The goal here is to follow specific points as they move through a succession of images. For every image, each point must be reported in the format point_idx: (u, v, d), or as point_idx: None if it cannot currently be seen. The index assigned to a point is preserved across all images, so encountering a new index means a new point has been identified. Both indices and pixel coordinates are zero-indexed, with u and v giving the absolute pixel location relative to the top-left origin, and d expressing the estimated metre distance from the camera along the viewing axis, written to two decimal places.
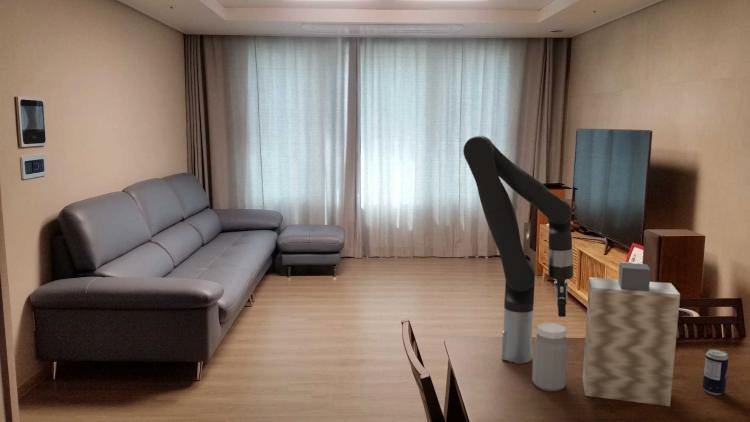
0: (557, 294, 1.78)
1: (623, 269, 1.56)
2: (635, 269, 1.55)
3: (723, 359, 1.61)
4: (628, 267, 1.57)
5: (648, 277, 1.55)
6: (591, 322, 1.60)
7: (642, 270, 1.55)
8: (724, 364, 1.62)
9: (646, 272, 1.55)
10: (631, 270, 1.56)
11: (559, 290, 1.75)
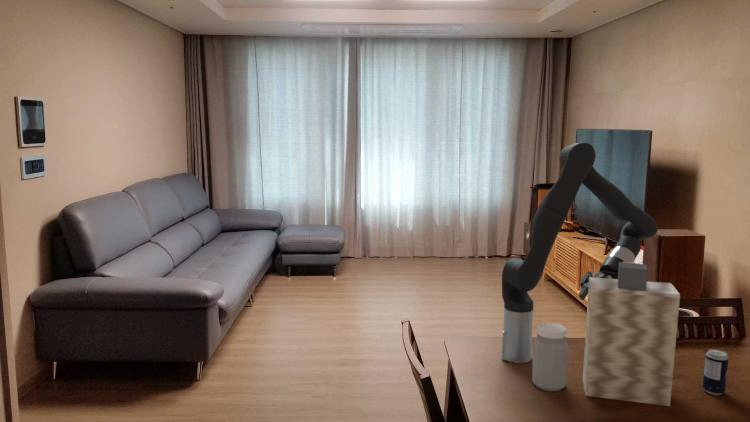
0: None
1: (620, 268, 1.57)
2: (632, 269, 1.56)
3: (723, 359, 1.61)
4: (625, 267, 1.57)
5: (645, 277, 1.55)
6: (591, 322, 1.60)
7: (639, 270, 1.55)
8: (724, 364, 1.62)
9: (643, 272, 1.55)
10: (628, 270, 1.56)
11: None
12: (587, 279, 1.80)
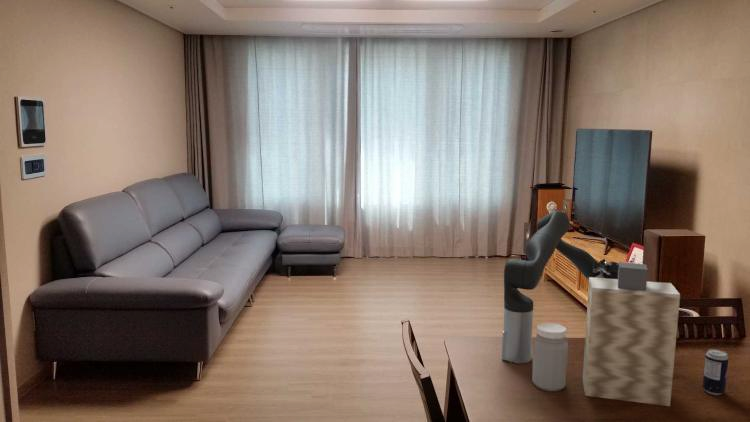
0: None
1: (620, 268, 1.57)
2: (632, 269, 1.56)
3: (723, 359, 1.61)
4: (625, 267, 1.57)
5: (645, 277, 1.55)
6: (591, 322, 1.60)
7: (639, 270, 1.55)
8: (724, 364, 1.62)
9: (643, 272, 1.55)
10: (628, 270, 1.56)
11: None
12: None
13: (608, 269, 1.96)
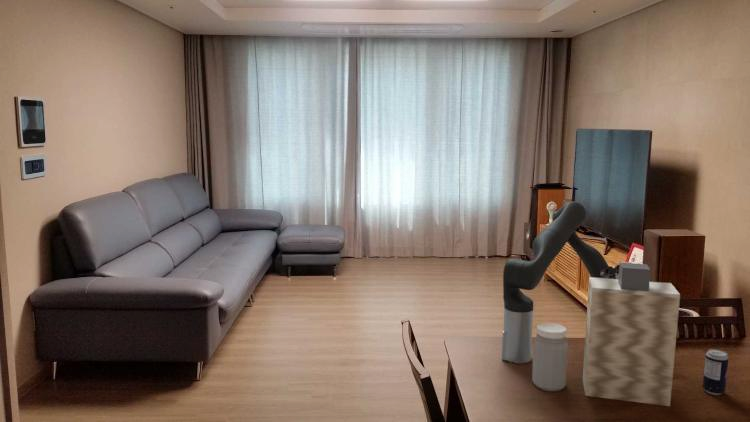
0: None
1: (623, 269, 1.56)
2: (635, 269, 1.55)
3: (723, 359, 1.61)
4: (628, 267, 1.57)
5: (648, 277, 1.55)
6: (591, 322, 1.60)
7: (642, 270, 1.55)
8: (724, 364, 1.62)
9: (646, 272, 1.55)
10: (631, 270, 1.56)
11: None
12: None
13: None
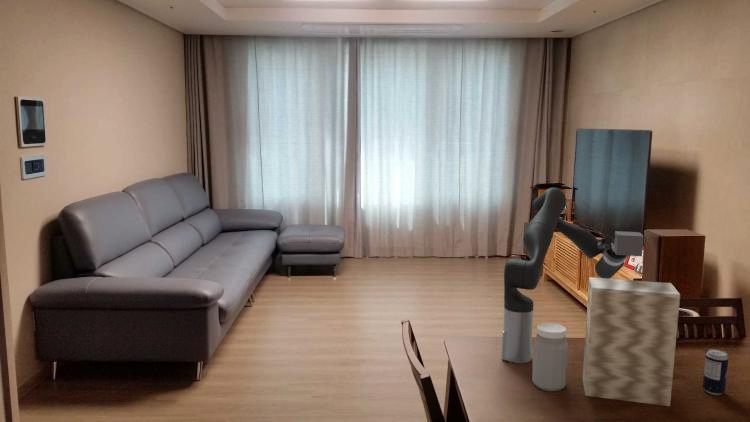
0: None
1: (618, 236, 1.68)
2: (629, 236, 1.68)
3: (723, 359, 1.61)
4: (623, 234, 1.69)
5: (641, 243, 1.67)
6: (591, 322, 1.60)
7: (636, 237, 1.67)
8: (724, 364, 1.62)
9: (639, 238, 1.67)
10: (625, 237, 1.68)
11: None
12: None
13: None
